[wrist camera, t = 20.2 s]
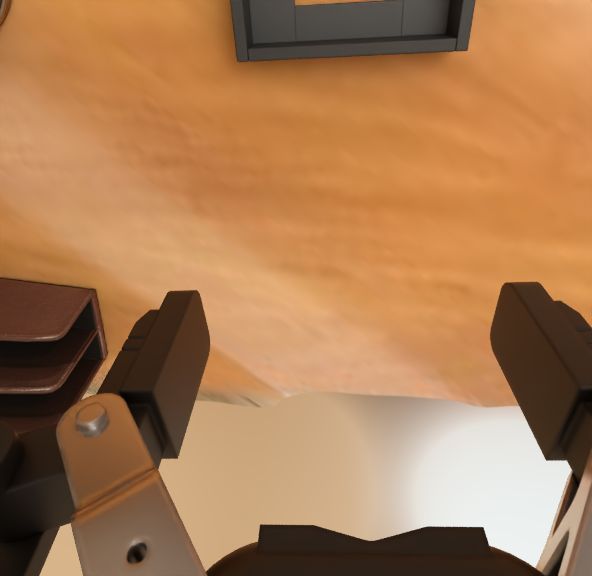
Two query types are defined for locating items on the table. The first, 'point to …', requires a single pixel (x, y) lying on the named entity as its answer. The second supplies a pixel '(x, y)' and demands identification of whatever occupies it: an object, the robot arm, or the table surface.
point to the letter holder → (46, 351)
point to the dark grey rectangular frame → (348, 28)
